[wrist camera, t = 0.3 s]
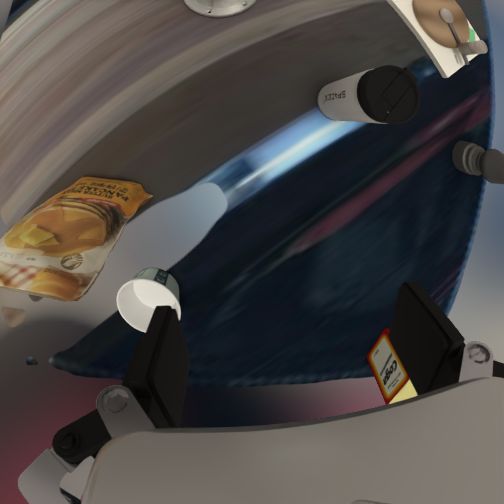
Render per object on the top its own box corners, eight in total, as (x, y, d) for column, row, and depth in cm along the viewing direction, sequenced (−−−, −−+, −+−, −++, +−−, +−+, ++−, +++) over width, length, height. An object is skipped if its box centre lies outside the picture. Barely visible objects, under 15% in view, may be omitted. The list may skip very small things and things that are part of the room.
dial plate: (377, -10, 30) (381, -13, 28) (423, -30, 25) (428, -32, 24) (443, 78, 36) (448, 77, 35) (480, 49, 32) (485, 48, 31)
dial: (400, -10, 28) (422, -24, 21) (445, -11, 26) (468, -21, 18) (440, 70, 34) (468, 67, 27) (480, 61, 32) (506, 59, 25)
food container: (170, 322, 57) (164, 343, 51) (119, 294, 54) (108, 313, 48) (197, 281, 53) (192, 302, 47) (141, 249, 50) (129, 266, 44)
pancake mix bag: (159, 221, 48) (86, 329, 22) (67, 206, 46) (-35, 283, 20) (163, 183, 45) (77, 264, 20) (67, 171, 43) (-48, 231, 18)
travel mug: (362, 99, 39) (433, 94, 21) (339, 128, 42) (401, 138, 24) (332, 74, 38) (392, 50, 20) (308, 103, 40) (356, 93, 22)
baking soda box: (386, 358, 65) (408, 405, 51) (366, 357, 64) (387, 407, 50) (404, 330, 61) (433, 377, 47) (384, 328, 60) (412, 378, 46)
